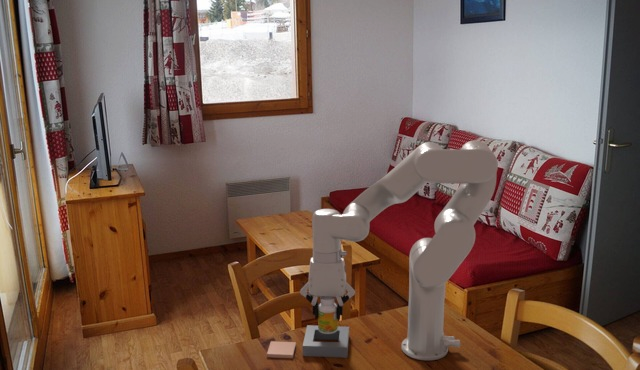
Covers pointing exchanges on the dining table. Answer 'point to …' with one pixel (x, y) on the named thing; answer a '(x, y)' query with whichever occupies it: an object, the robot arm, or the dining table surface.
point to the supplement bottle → (327, 315)
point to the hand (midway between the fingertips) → (327, 316)
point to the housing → (326, 347)
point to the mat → (281, 349)
